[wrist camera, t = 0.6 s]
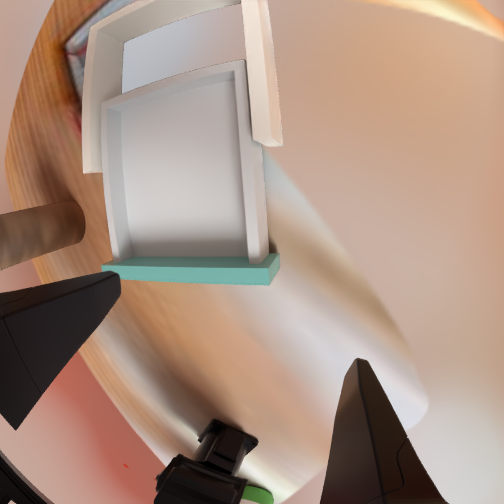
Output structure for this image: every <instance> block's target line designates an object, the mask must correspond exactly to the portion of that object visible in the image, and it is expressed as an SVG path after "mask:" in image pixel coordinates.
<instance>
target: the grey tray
mask: <svg viewBox="0 0 504 504" xmlns="http://www.w3.org/2000/svg"><path fill="white" fill-rule="evenodd" d="M101 153H102V171H103V184H104V195H105V204H106V213H107V221H108V228H109V235H110V241H111V248H112V253H113V259H114V260H112V261H110V262H107V263H105V264H103V265H101V267H102V272H104V271H109V270H111V271H114V272H116V273H118V274H119V276H120V279H127V280H144V281H162V282H182V283H205V284H234V285H270V284H271V282H272V280H273V278H274V277H275V275H276V273H277V272H278V270H279V268H280V261H279V253H269V242H268V227H267V212H266V197H265V184H264V170H263V157H262V144H261V143H259V142H257V141H255V140H253V132H252V120H251V108H250V95H249V84H248V72H247V61H246V60H245V59H241V60H236V61H231V62H226V63H222V64H217V65H213V66H208V67H204V68H201V69H196V70H193V71H189V72H186V73H182V74H179V75H175V76H172V77H169V78H165V79H163V80H160V81H156V82H153V83H150V84H148V85H145V86H142V87H139V88H136V89H134V90H131V91H129V92H126V93H123V94H121V95H118V96H116V97H114V98H111V99H109V100H107V101H104V102H102V103H101Z"/></svg>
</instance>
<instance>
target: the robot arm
mask: <svg viewBox="0 0 504 504" xmlns="http://www.w3.org/2000/svg"><path fill="white" fill-rule="evenodd" d="M120 295H121V283H120V276H119V274H118V273H116V272H114V271H111V270H109V271H104V272H100V273H95V274H90V275H85V276H81V277H76V278H72V279H67V280H62V281H58V282H53V283H49V284H44V285H40V286H35V287H31V288H26V289H21V290H16V291H10V292H4V293H0V414H1V415H2V416H3V417H4V418H5V419H6V421H7V422H8V423H9V424H10V425H11V426H12V427H13V428H14V430H17V429H18V427H19V426H20V425H21V423H22V422H23V420H24V419H25V418H26V416H27V415H28V414H29V412H30V411H31V409H32V408H33V407H34V405H35V404H36V403H37V401H38V400H39V399H40V397H41V396H42V394H43V393H44V392H45V391H46V389H47V388H48V387H49V385H50V384H51V383H52V382H53V380H54V379H55V378H56V376H57V375H58V374H59V373H60V371H61V370H62V369H63V367H64V366H65V365H66V364H67V363H68V361H69V360H70V359H71V358H72V357H73V355H74V354H75V353H76V352H77V351H78V349H79V348H80V347H81V346H82V345H83V343H84V342H85V341H86V340H87V339H88V338H89V336H90V335H91V334H92V333H93V332H94V331H95V329H96V328H97V327H98V326H99V325H100V323H101V322H102V321H103V319H104V318H105V316H106V315H107V314H108V312H109V311H110V309H111V308H112V307H113V305H114V304H115V302H116V301H117V300H118V298H119V297H120ZM198 441H199V442H200V443H201V444H200V446H199V448H198V449H197V451H196V453H195V455H194V456H193V458H192V460H191V459H189V458H187V457H185V456H183V455H182V454H180V453H179V454H178V455H177V457H174V458H173V459H172V461H171V462H170V464H169V465H168V466H167V467H166V468H165V469H164V470H163V471H162V472H161V473H159V474H158V475H157V477H156V480H157V486H156V492H158V494H157V496H156V498H155V499H154V504H240V501H241V498H242V496H243V493H244V490H245V487H246V484H247V481H248V479H244V478H243V479H242V478H239V477H236V476H237V473H238V471H239V469H240V466H241V464H242V461H243V459H244V457H245V456H246V455H247V454H248V453H249V452H250V451H251V450H253V449H254V448H255V447H256V446H257V445H258V440H256V439H254V438H251V437H249V436H247V435H245V434H243V433H241V432H239V431H237V430H235V429H233V428H231V427H229V426H227V425H225V424H223V423H221V422H219V421H217V420H215V419H213V420H212V421H211V422H210V424H209V425H208V426H207V428H206V429H205V430H204V432H203V433H202V435H201V436H200V437H199V439H198ZM10 500H12V501H13V502H15V503H16V504H54V503H53V502H51V501H50V500H49V499H48V498H47V497H46V496H45V495H44V494H42V493H41V492H40V491H39V490H38V489H37V488H36V487H35V486H34V485H33V484H32V483H31V482H30V481H29V480H28V479H27V478H25V476H23V474H22V473H21V472H20V471H19V470H18V469H17V468H16V467H15V466H14V465H13V464H12V463H11V462H10V461H9V459H8V458H7V457H6V456H5V455H4V454H3V453H2V451H1V450H0V504H8V503H9V502H10ZM320 504H449V503H448V502H446V501H445V500H444V498H443V497H442V496H441V494H440V493H439V491H438V490H437V488H436V486H435V485H434V483H433V481H432V480H431V478H430V476H429V475H428V473H427V471H426V470H425V468H424V467H423V465H422V463H421V461H420V460H419V458H418V456H417V454H416V452H415V450H414V448H413V446H412V444H411V442H410V440H409V438H407V434H406V432H405V430H404V428H403V426H402V424H401V422H400V420H399V418H398V416H397V415H396V413H395V411H394V409H393V407H392V405H391V403H390V401H389V399H388V397H387V395H386V393H385V392H384V390H383V388H382V386H381V384H380V382H379V380H378V379H377V377H376V375H375V373H374V371H373V369H372V368H371V366H370V364H369V362H368V361H367V360H364V359H360V358H356V359H355V360H354V361H353V363H352V365H351V366H350V368H349V370H348V371H347V373H346V375H345V378H344V382H343V386H342V391H341V395H340V399H339V403H338V407H337V411H336V416H335V421H334V428H333V435H332V442H331V448H330V454H329V460H328V466H327V471H326V477H325V481H324V486H323V492H322V496H321V500H320Z"/></svg>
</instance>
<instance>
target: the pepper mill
mask: <svg viewBox="0 0 504 504" xmlns="http://www.w3.org/2000/svg"><path fill="white" fill-rule="evenodd" d="M84 233H85V218H84V214H83V211H82V209H81V207H80V206H79V205H78V203H76V202H75V201H65V202H59V203H54V204H49V205H43V206H38V207H33V208H29V209H24V210H19V211H15V212H10V213H6V214H2V215H0V270H3V269H5V268H8V267H11V266H13V265H16V264H19V263H21V262H24V261H27V260H29V259H32V258H35V257H38V256H41V255H43V254H46V253H49V252H52V251H55V250H58V249H61V248H64V247H67V246H70V245H73V244H76V243H79V242H80V241H81V240H82V238H83V236H84Z"/></svg>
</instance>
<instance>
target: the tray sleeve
mask: <svg viewBox="0 0 504 504" xmlns="http://www.w3.org/2000/svg"><path fill="white" fill-rule="evenodd" d="M240 3H241V5H242V15H243V26H244V37H245V49H246V59H247V72H248V84H249V95H250V108H251V120H252V132H253V140H255V141H257V142H259V143H261V144H263V145H265V146H267V147H273V146H283V136H282V124H281V115H280V114H281V113H280V104H279V93H278V83H277V75H276V65H275V57H274V48H273V41H272V33H271V25H270V18H269V11H268V4H267V0H138V1H136V2H134V3H132V4H130V5H128V6H126V7H124V8H122V9H120V10H118V11H117V12H115V13H113V14H111V15H109V16H108V17H106V18H104V19H102V20H101V21H99V22H97V23H96V24H94V25H92V26H91V27H90V31H89V38H88V45H87V52H86V60H85V70H84V82H83V99H82V157H83V174H84V173H100V172H103V171H102V153H101V103H102V102H104V101H107V100H109V99H111V98H114V97H116V96H118V95H121V94H122V67H123V66H122V65H123V51H124V43H125V42H127V41H129V40H131V39H133V38H135V37H137V36H140V35H142V34H145V33H147V32H149V31H152V30H154V29H157V28H159V27H162V26H164V25H167V24H170V23H173V22H175V21H178V20H181V19H184V18H187V17H190V16H193V15H197V14H200V13H203V12H207V11H211V10H214V9H218V8H222V7H226V6H230V5H235V4H240Z"/></svg>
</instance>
